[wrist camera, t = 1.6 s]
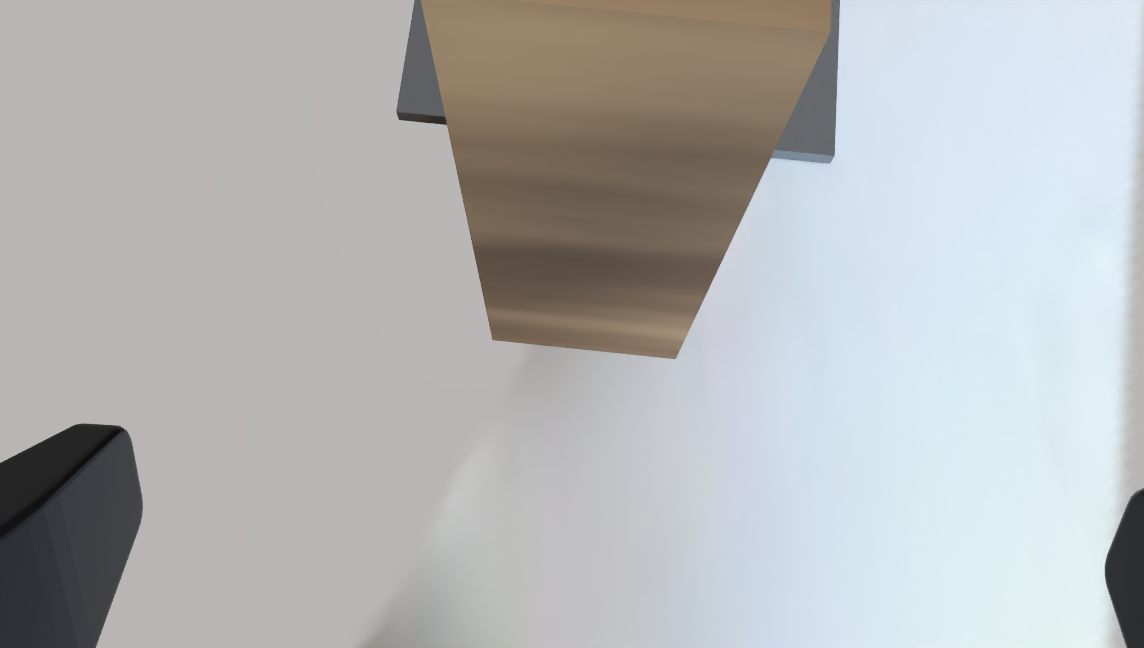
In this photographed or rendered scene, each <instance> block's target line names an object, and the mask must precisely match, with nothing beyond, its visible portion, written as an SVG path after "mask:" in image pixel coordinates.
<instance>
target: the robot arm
mask: <svg viewBox="0 0 1144 648" xmlns="http://www.w3.org/2000/svg"><path fill="white" fill-rule="evenodd" d="M142 510H143V502H142V494H141V489H140V483H139V478H138V473H137V467H136V462H135V457H134V451H133V446H132V442H131V438H130V436H129V434H128V432H127V431H126V430H125V429H124V428H122V427H120V426H114V425H99V424H77V425H74V426H72V427H70V428H68V429H66V430H64V431H62V432H60V433H58V434H56V435H54V436H52V437H50V438H48V439H46V440H44V441H43V442H41V443H38V444H37V445H35V446H33V447H31V448H29V449H27V450H25V451H23V452H21V453H19V454H17V455H15V456H13V457H11V458H9V459H7V460H5V461H4V462H1V463H0V648H96V645H97V642H98V640H99V636H100V634H101V631H102V629H103V626H104V623H105V620H106V617H107V615H108V612H109V609H110V606H111V604H112V601H113V598H114V595H115V593H116V590H117V587H118V584H119V582H120V579H121V576H122V573H123V571H124V568H125V565H126V562H127V560H128V557H129V554H130V551H131V549H132V546H133V543H134V540H135V538H136V535H137V532H138V529H139V526H140V523H141V518H142ZM1105 579H1106V584H1107V588H1108V591H1109V594H1110V598H1111V601H1112V604H1113V607H1114V610H1115V613H1116V616H1117V619H1118V622H1119V625H1120V629H1121V632H1122V635H1123V638H1124V641H1125V644H1126V647H1127V648H1144V488H1143V489H1140V490H1138V491H1136V492H1135V493H1134V494H1133V495H1132V496H1131V498H1130V500H1129V502H1128V504H1127V507H1126V509H1125V512H1124V514H1123V517H1122V519H1121V522H1120V524H1119V527H1118V529H1117V532H1116V534H1115V537H1114V539H1113V542H1112V544H1111V547H1110V549H1109V552H1108V554H1107V558H1106V563H1105Z"/></svg>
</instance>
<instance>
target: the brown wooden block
mask: <svg viewBox="0 0 1144 648" xmlns="http://www.w3.org/2000/svg"><path fill="white" fill-rule="evenodd" d="M421 4H422V9H423V13H424V18H425V23H426V27H427V32H428V37H429V42H430V46H431V51H432V56H433V60H434V65H435V70H436V75H437V79H438V84H439V89H440V93H441V98H442V103H443V108H444V112H445V117H446V122H447V126H448V131H449V136H450V141H451V145H452V150H453V155H454V159H455V164H456V169H457V174H458V178H459V183H460V188H461V193H462V197H463V202H464V206H465V211H466V216H467V220H468V226H469V230H470V235H471V240H472V244H473V249H474V254H475V259H476V263H477V268H478V272H479V278H480V282H481V287H482V292H483V296H484V301H485V306H486V311H487V315H488V320H489V325H490V329H491V334H492V339H493V340H498V341H508V342H517V343H527V344H536V345H546V346H556V347H565V348H575V349H585V350H594V351H604V352H614V353H623V354H633V355H643V356H652V357H662V358H672V359H676V357H677V355H678V352H679V350H680V348H681V346H682V344H683V342H684V340H685V338H686V336H687V333H688V331H689V329H690V327H691V325H692V323H693V321H694V319H695V317H696V314H697V312H698V310H699V308H700V306H701V304H702V302H703V300H704V298H705V295H706V293H707V291H708V289H709V287H710V285H711V283H712V281H713V279H714V277H715V274H716V272H717V270H718V268H719V266H720V264H721V262H722V260H723V258H724V255H725V253H726V251H727V249H728V247H729V245H730V243H731V241H732V239H733V236H734V234H735V232H736V230H737V228H738V226H739V224H740V222H741V220H742V217H743V215H744V213H745V211H746V209H747V207H748V205H749V203H750V201H751V198H752V196H753V194H754V192H755V190H756V188H757V186H758V184H759V182H760V179H761V177H762V175H763V173H764V171H765V169H766V167H767V165H768V163H769V161H770V158H771V156H772V154H773V152H774V150H775V148H776V146H777V144H778V142H779V139H780V137H781V135H782V133H783V131H784V129H785V127H786V125H787V123H788V120H789V118H790V116H791V114H792V112H793V110H794V108H795V106H796V104H797V101H798V99H799V97H800V95H801V93H802V91H803V89H804V87H805V85H806V82H807V80H808V78H809V76H810V74H811V72H812V70H813V68H814V66H815V63H816V61H817V59H818V57H819V55H820V53H821V51H822V49H823V47H824V45H825V42H826V40H827V38H828V36H829V34H830V27H831V0H421Z"/></svg>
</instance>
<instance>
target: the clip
mask: <svg viewBox="0 0 1144 648" xmlns="http://www.w3.org/2000/svg"><path fill="white" fill-rule="evenodd" d="M839 10H840V0H831V27H830V34H829V36H828V38H827V40H826V42H825V45H824V47H823V49H822V51H821V53H820V55H819V57H818V59H817V61H816V63H815V66H814V68H813V70H812V72H811V74H810V76H809V78H808V80H807V82H806V85H805V87H804V89H803V91H802V93H801V95H800V97H799V99H798V101H797V104H796V106H795V108H794V110H793V112H792V114H791V116H790V118H789V120H788V123H787V125H786V127H785V129H784V131H783V133H782V135H781V137H780V139H779V142H778V144H777V146H776V148H775V150H774V152H773V154H772V156H771V158H781V159H791V160H801V161H811V162H820V163H830V162H831V161H832V159H833V158H834V155H835V126H836V97H837V68H838V39H839ZM397 115H398V118H399V120H405V121H416V122H425V123H435V124H445V125H447V122H446V117H445V112H444V108H443V103H442V98H441V93H440V89H439V84H438V79H437V75H436V70H435V65H434V60H433V56H432V51H431V46H430V42H429V37H428V32H427V27H426V23H425V18H424V13H423V9H422V4H421V0H415V2H414V8H413V14H412V20H411V27H410V32H409V39H408V45H407V51H406V57H405V63H404V69H403V75H402V81H401V87H400V93H399V99H398V106H397Z"/></svg>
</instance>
